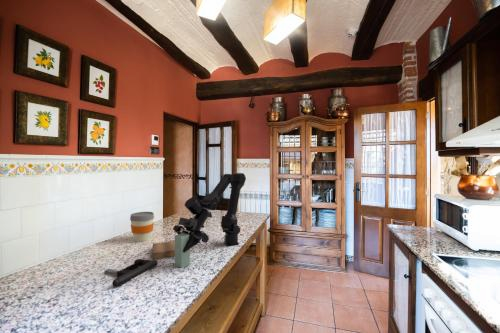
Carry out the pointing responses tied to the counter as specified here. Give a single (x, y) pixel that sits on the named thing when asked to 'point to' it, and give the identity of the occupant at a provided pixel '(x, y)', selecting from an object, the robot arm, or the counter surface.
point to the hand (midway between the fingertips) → (179, 250)
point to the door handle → (131, 271)
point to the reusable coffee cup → (142, 226)
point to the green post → (181, 250)
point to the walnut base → (163, 250)
